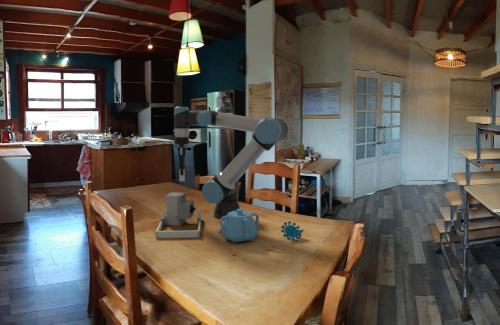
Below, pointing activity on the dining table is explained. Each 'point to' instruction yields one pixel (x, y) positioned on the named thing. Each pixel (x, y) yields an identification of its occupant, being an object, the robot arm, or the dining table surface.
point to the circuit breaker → (178, 208)
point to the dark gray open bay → (166, 219)
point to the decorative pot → (239, 226)
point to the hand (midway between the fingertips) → (182, 181)
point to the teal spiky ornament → (291, 231)
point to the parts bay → (177, 233)
